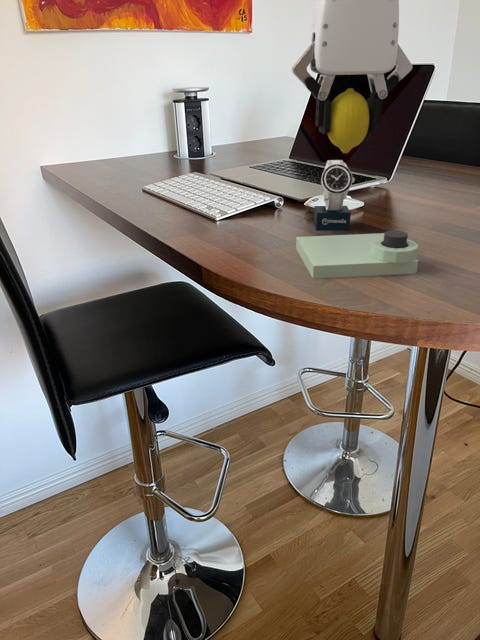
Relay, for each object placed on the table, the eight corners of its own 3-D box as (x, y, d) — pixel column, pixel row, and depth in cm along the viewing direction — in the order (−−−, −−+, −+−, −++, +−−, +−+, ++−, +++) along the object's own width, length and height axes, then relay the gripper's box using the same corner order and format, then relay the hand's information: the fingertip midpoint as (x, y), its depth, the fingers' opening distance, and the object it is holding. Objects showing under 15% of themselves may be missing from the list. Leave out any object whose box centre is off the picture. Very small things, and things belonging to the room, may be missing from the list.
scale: (388, 244, 77) (391, 222, 75) (421, 275, 66) (425, 250, 64) (295, 248, 76) (296, 226, 74) (313, 280, 65) (315, 255, 63)
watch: (317, 234, 82) (321, 165, 77) (312, 220, 89) (315, 156, 84) (351, 234, 82) (357, 165, 76) (344, 220, 89) (349, 156, 84)
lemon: (360, 149, 70) (366, 86, 66) (370, 156, 65) (377, 88, 61) (321, 150, 70) (324, 87, 66) (328, 157, 65) (332, 89, 61)
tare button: (401, 242, 68) (402, 229, 67) (409, 249, 66) (411, 236, 65) (379, 243, 68) (381, 230, 67) (387, 250, 65) (389, 237, 65)
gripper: (419, -30, 61) (400, 127, 70) (281, -29, 60) (278, 130, 69) (446, -41, 55) (421, 133, 63) (291, -40, 54) (287, 138, 62)
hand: (347, 130), depth 66 cm, fingers closed on lemon, 5 cm apart
